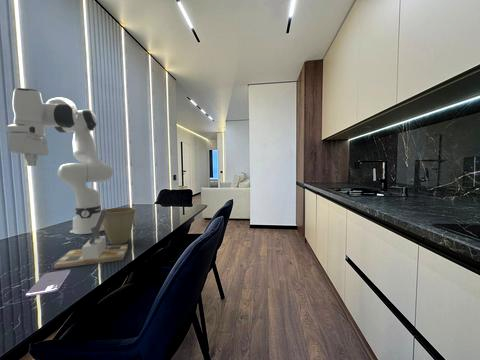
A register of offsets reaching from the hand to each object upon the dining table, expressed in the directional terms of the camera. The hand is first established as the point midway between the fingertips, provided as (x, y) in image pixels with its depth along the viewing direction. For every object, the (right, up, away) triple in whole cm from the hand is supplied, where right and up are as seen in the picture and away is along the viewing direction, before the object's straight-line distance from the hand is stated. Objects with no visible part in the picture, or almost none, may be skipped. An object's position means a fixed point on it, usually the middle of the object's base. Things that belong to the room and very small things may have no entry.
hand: (32, 165), depth 90 cm
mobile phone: (+22, -39, -18) cm, 48 cm away
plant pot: (+24, -36, +20) cm, 48 cm away
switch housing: (+23, -35, +2) cm, 42 cm away
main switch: (+24, -29, -1) cm, 38 cm away
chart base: (+23, -37, +2) cm, 44 cm away
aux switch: (+22, -29, +6) cm, 37 cm away
